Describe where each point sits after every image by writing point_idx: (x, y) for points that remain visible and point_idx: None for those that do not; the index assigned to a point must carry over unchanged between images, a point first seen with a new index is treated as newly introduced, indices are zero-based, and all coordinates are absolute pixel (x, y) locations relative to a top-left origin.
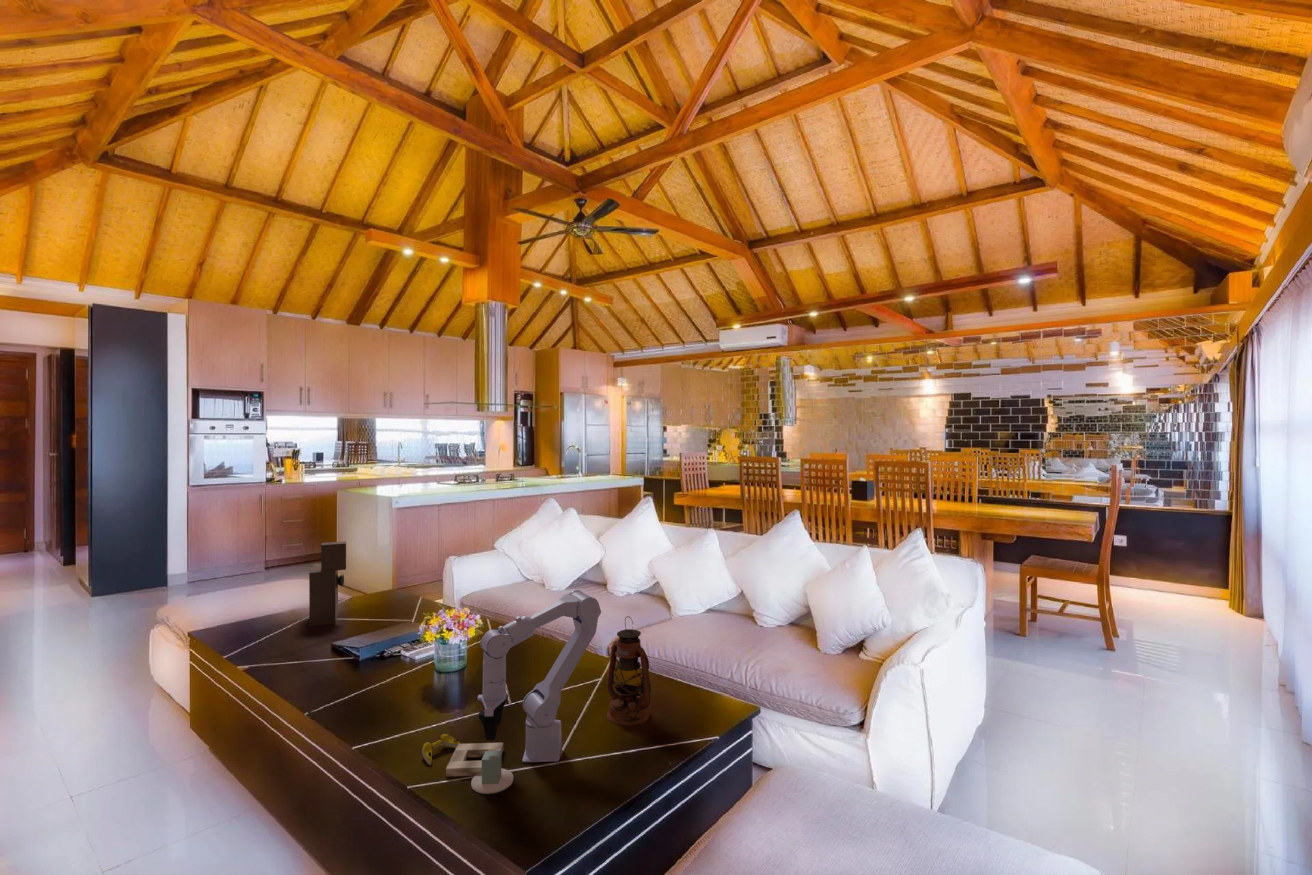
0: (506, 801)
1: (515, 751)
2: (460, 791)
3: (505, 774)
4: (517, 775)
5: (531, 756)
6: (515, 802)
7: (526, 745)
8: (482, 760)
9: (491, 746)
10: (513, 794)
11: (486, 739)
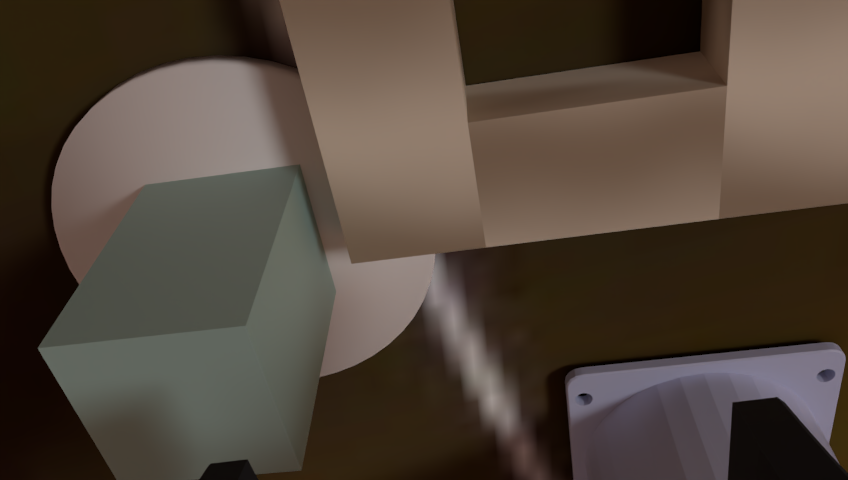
0: (48, 388)
1: (776, 269)
2: (10, 4)
3: (342, 318)
4: (381, 373)
5: (599, 444)
6: (62, 435)
7: (669, 464)
8: (48, 347)
9: (793, 98)
10: None
11: (207, 468)
